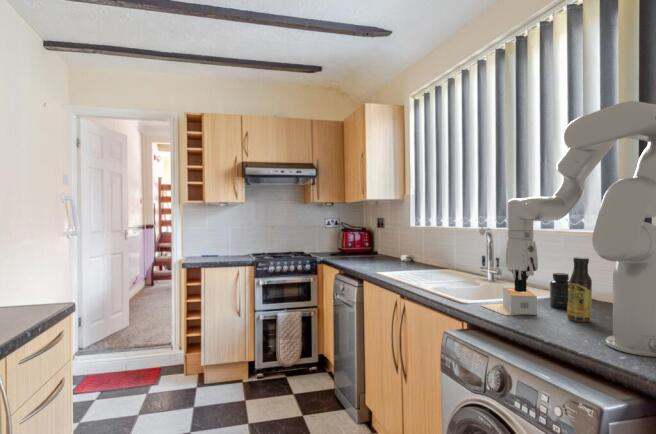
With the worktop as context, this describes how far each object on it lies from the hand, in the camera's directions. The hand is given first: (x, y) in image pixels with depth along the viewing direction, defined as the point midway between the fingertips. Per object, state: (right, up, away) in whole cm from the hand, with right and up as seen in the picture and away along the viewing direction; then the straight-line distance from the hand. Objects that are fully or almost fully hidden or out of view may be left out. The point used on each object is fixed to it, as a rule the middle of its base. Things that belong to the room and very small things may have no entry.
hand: (520, 291), depth 127 cm
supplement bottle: (+20, -8, +11) cm, 25 cm away
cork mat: (-1, -8, +8) cm, 11 cm away
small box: (+1, -5, 0) cm, 5 cm away
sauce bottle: (+16, -8, -6) cm, 19 cm away
